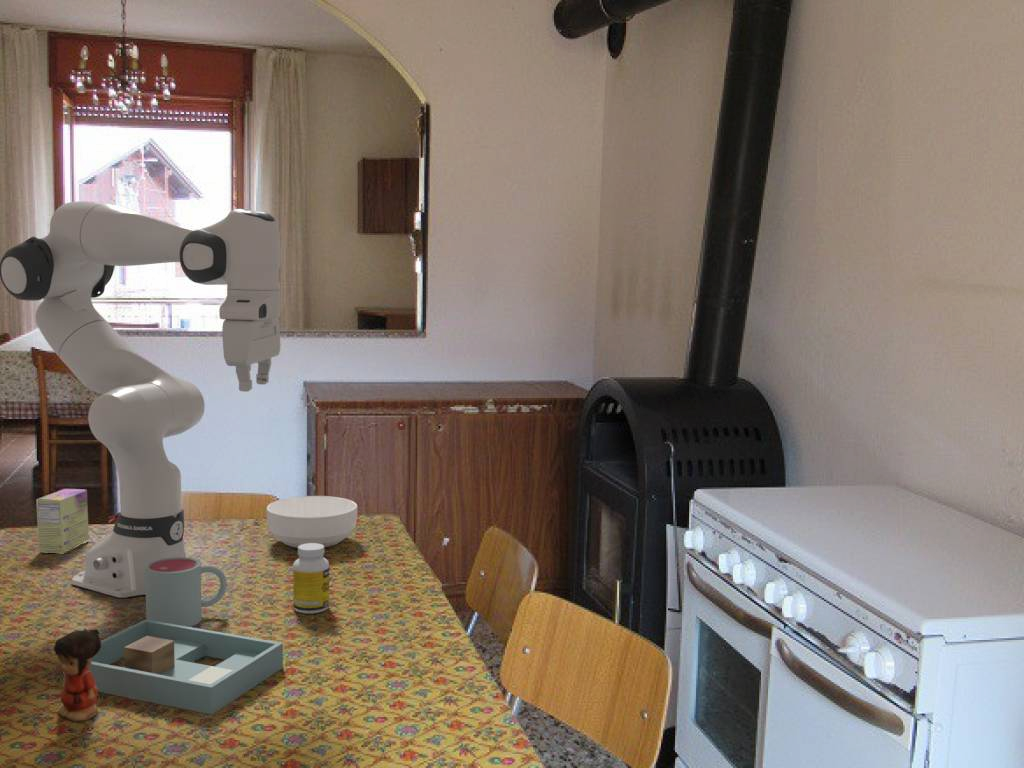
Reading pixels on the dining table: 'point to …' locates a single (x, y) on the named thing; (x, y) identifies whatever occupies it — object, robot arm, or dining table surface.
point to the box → (62, 520)
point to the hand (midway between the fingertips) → (254, 387)
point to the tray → (187, 667)
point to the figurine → (78, 674)
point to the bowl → (311, 520)
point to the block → (150, 655)
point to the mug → (178, 590)
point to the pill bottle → (311, 579)
